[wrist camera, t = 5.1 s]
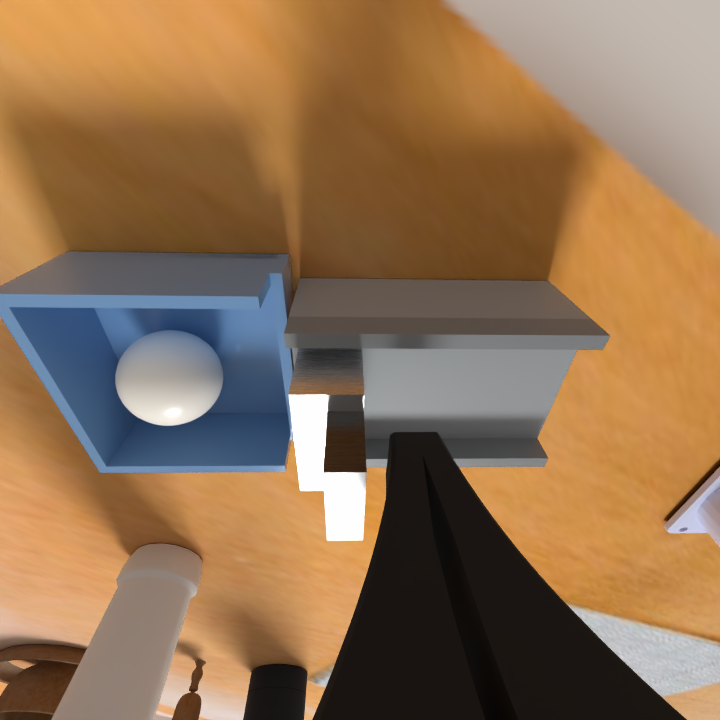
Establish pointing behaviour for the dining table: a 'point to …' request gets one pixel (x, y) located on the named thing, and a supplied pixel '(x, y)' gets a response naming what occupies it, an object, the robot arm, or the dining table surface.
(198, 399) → the ball
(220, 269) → the open box
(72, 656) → the place setting
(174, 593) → the bottle
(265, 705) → the wine bottle
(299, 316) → the open gray tray
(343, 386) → the grey angular hollow piece
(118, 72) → the dining table surface
